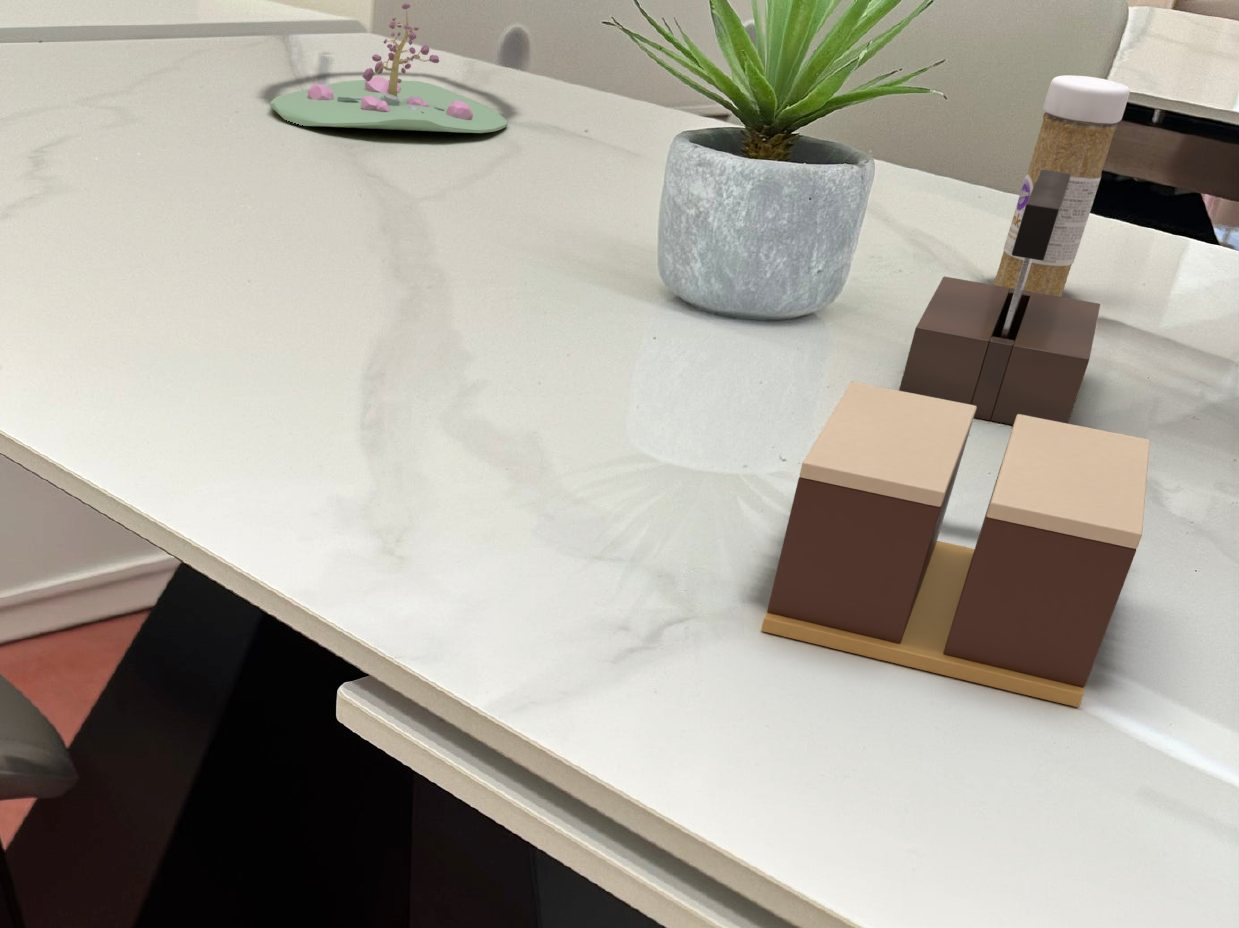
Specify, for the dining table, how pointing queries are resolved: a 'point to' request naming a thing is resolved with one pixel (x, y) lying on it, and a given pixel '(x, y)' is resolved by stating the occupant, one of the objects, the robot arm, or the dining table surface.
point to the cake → (951, 574)
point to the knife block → (1001, 351)
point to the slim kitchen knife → (1036, 230)
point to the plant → (388, 100)
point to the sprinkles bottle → (1068, 145)
